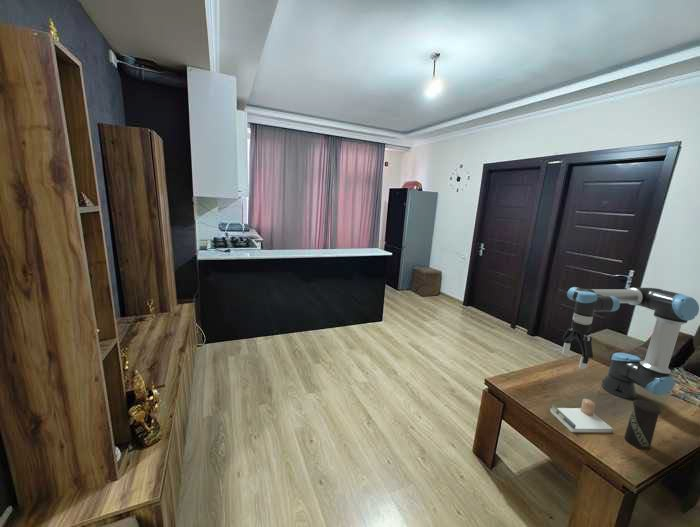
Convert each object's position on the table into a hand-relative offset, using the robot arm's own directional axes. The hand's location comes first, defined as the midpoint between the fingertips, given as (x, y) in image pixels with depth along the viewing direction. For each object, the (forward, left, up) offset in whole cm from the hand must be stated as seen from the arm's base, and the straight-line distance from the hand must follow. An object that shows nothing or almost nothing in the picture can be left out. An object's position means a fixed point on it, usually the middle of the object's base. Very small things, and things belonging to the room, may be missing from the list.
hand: (573, 361), depth 144 cm
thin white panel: (-1, +9, -28) cm, 29 cm away
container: (-17, +22, -28) cm, 40 cm away
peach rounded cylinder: (-8, +5, -26) cm, 27 cm away
